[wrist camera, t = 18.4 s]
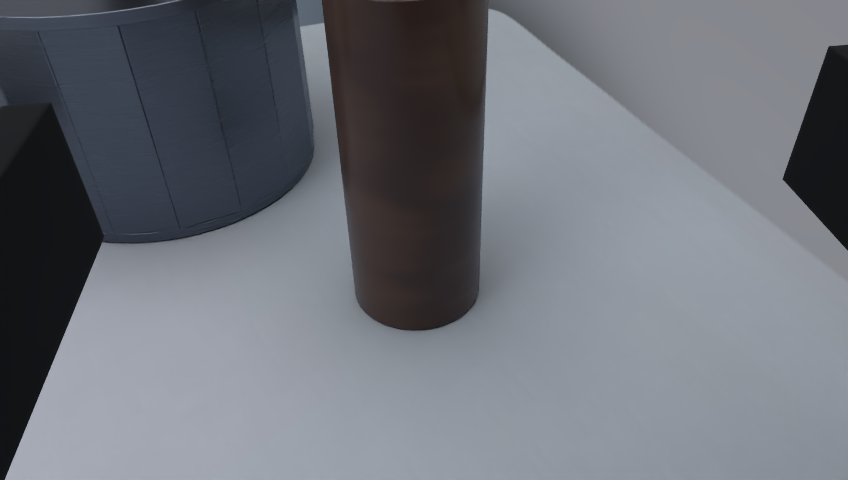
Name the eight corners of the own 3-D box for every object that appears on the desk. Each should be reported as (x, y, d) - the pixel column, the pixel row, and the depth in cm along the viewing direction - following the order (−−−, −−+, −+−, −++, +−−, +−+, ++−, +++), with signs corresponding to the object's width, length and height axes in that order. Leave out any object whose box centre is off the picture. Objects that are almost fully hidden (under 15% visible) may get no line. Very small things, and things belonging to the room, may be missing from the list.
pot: (316, 88, 41) (293, -87, 35) (311, 229, 30) (277, 12, 24) (76, 104, 40) (11, -73, 34) (-16, 256, 29) (-133, 37, 23)
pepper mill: (468, 242, 29) (476, -126, 21) (488, 324, 26) (508, -85, 17) (353, 252, 29) (312, -119, 20) (356, 336, 25) (308, -74, 17)
